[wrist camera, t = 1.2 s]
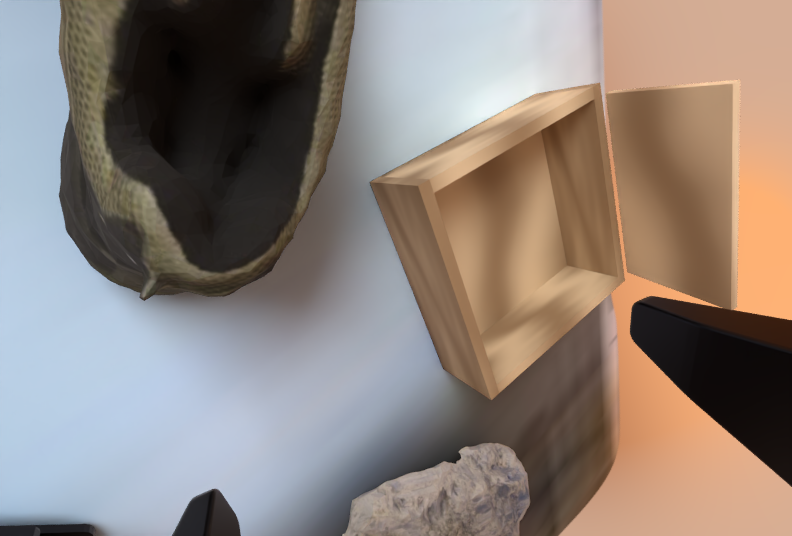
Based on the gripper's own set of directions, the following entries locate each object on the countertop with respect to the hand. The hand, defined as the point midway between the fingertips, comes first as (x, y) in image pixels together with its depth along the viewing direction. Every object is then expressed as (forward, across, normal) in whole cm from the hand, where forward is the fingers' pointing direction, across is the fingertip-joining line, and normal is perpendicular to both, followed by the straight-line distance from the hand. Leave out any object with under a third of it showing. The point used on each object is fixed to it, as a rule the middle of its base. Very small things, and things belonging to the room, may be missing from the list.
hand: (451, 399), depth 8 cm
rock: (+10, +1, +19) cm, 22 cm away
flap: (+9, -16, +3) cm, 19 cm away
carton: (+14, -9, +5) cm, 17 cm away
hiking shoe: (+14, +2, -9) cm, 16 cm away
